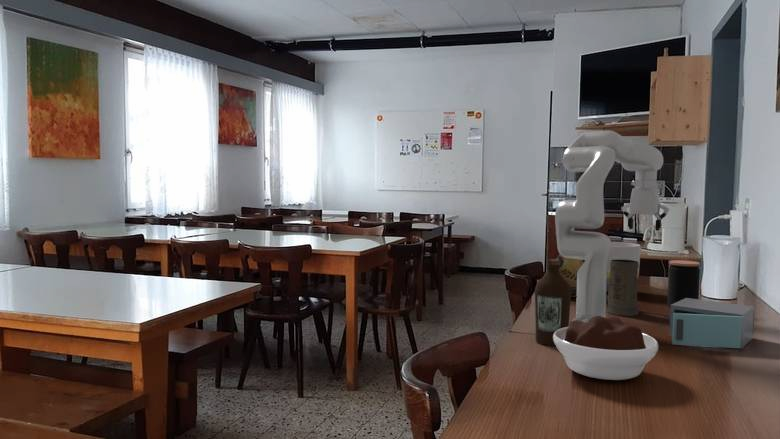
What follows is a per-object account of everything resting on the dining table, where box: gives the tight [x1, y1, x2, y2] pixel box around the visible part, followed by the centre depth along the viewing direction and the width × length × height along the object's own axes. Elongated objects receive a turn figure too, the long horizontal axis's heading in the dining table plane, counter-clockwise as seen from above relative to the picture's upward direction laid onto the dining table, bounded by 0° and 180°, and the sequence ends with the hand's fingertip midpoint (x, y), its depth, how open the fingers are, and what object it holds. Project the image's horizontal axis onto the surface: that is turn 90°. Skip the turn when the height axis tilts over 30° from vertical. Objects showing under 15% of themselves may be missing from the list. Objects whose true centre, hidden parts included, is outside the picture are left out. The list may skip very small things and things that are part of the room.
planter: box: [607, 241, 641, 293], centre depth 264 cm, size 20×20×21 cm
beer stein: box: [606, 259, 640, 317], centre depth 225 cm, size 15×11×20 cm
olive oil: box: [534, 258, 572, 346], centre depth 182 cm, size 11×11×25 cm
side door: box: [671, 313, 745, 350], centre depth 178 cm, size 2×19×9 cm, turn 78°
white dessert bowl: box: [553, 315, 659, 381], centre depth 152 cm, size 25×25×15 cm
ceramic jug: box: [555, 228, 584, 298], centre depth 256 cm, size 17×15×30 cm
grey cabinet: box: [668, 298, 755, 346], centre depth 190 cm, size 16×20×10 cm
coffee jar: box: [667, 259, 701, 308], centre depth 232 cm, size 11×11×18 cm
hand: (644, 229), depth 232 cm, fingers open, 9 cm apart
